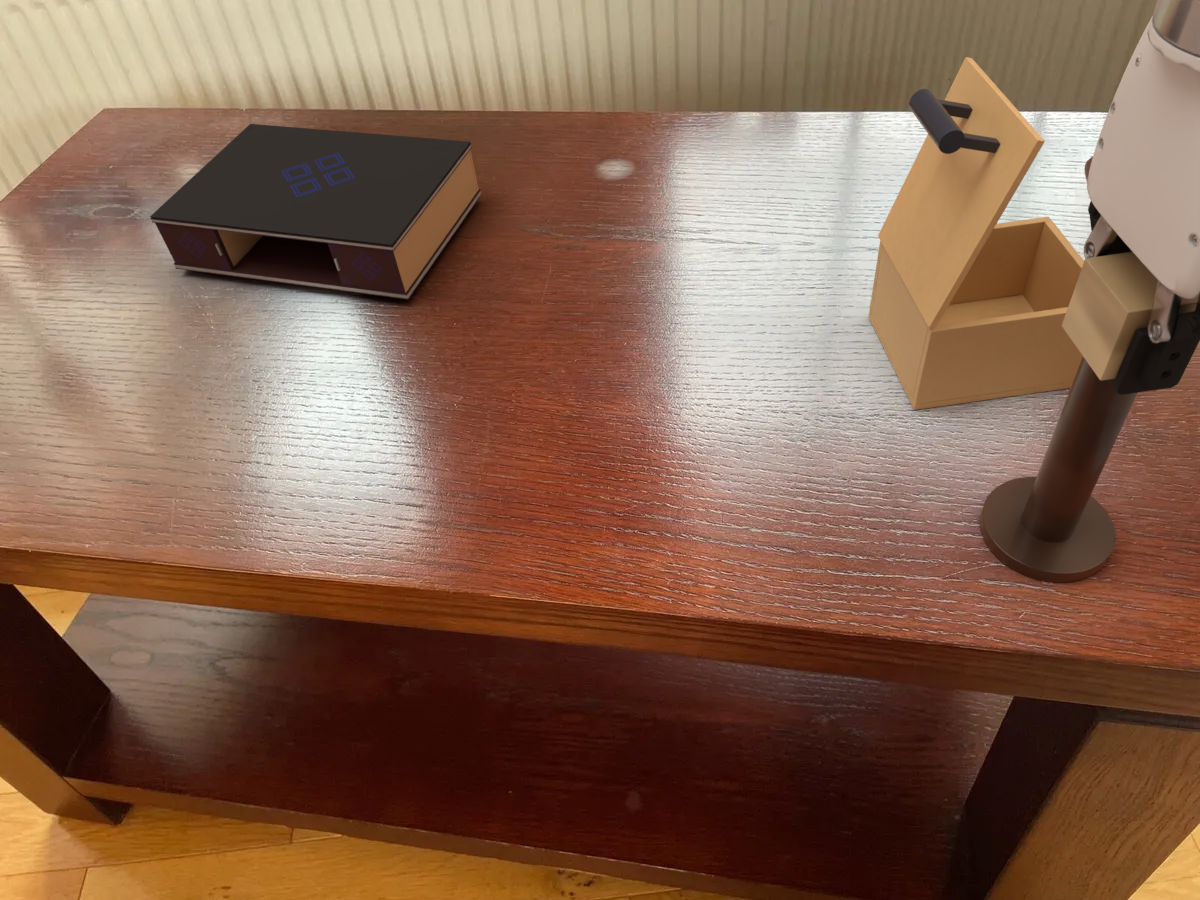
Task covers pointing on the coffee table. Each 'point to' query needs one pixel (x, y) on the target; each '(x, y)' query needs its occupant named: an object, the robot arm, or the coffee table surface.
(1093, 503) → the stand
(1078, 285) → the block
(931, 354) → the carton
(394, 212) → the black flat box
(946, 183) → the carton flap
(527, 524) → the coffee table surface
